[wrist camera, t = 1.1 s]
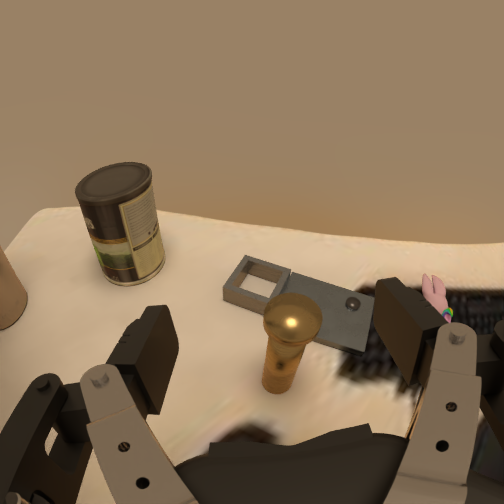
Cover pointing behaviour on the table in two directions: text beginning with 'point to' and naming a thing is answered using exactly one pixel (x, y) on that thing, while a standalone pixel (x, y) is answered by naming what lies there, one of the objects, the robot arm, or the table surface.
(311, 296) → the grey tray fixture
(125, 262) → the coffee can
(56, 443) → the robot arm
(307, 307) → the hinge pin
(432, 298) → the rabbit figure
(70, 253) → the table surface
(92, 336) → the table surface
